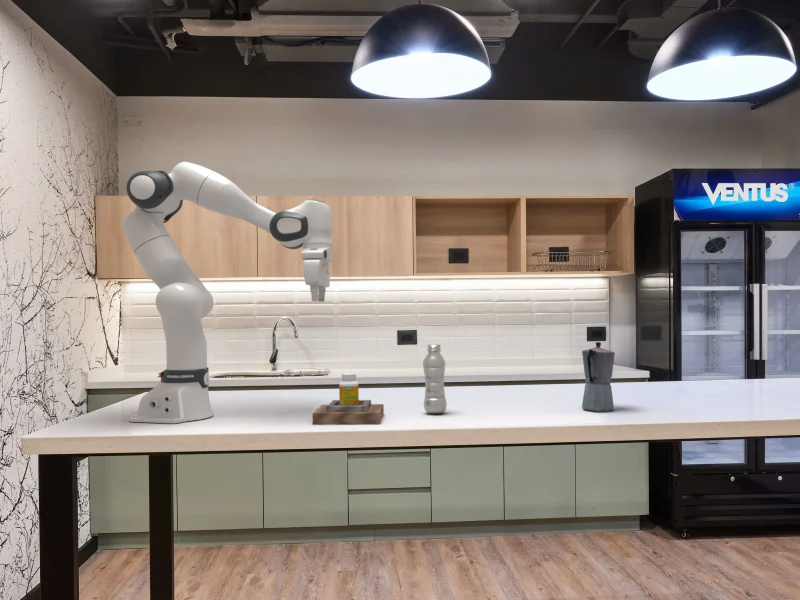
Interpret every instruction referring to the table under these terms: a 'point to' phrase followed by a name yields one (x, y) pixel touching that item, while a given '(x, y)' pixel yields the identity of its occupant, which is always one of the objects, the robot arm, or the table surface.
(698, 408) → the table surface
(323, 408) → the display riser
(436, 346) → the plastic bottle
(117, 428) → the table surface
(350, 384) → the supplement bottle
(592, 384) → the moka pot
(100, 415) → the table surface
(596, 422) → the table surface
